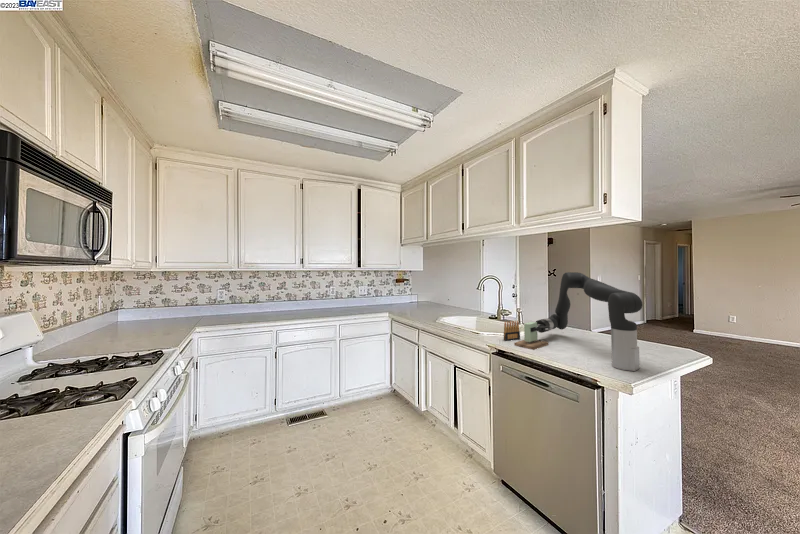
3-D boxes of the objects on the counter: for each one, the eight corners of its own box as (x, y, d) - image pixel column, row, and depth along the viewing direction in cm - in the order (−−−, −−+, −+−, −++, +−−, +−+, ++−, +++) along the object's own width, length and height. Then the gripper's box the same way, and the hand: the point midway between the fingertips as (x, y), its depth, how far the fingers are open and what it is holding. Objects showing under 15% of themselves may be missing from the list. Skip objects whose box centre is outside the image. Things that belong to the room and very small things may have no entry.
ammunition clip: (518, 338, 186) (517, 319, 186) (520, 339, 184) (519, 320, 184) (503, 340, 183) (502, 321, 183) (505, 341, 181) (504, 321, 181)
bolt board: (548, 344, 170) (548, 341, 170) (533, 349, 162) (533, 346, 162) (528, 340, 180) (528, 338, 180) (514, 345, 171) (514, 342, 171)
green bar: (537, 339, 172) (537, 322, 172) (529, 342, 167) (529, 324, 167) (532, 338, 174) (531, 321, 174) (524, 341, 170) (524, 323, 170)
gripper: (533, 317, 185) (516, 321, 175) (555, 320, 173) (539, 324, 163) (533, 329, 185) (517, 334, 175) (556, 333, 173) (540, 338, 163)
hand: (528, 329), depth 169 cm, fingers closed on green bar, 3 cm apart
